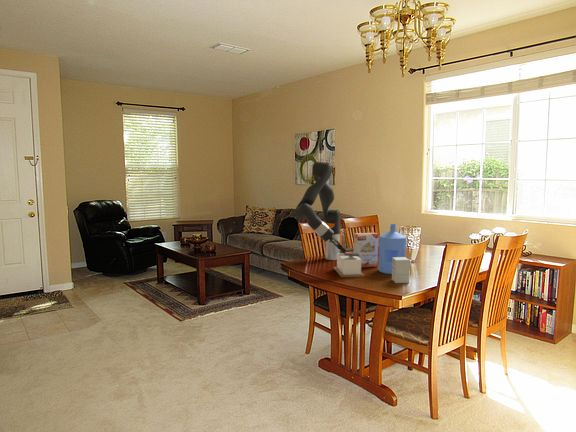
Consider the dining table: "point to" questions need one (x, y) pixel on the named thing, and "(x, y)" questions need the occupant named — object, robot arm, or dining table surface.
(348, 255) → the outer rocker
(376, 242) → the cracker box
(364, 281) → the dining table surface
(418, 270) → the dining table surface
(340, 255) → the switch panel
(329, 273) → the dining table surface
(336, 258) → the robot arm
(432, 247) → the dining table surface
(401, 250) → the water jug
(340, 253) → the block
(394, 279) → the supplement box
